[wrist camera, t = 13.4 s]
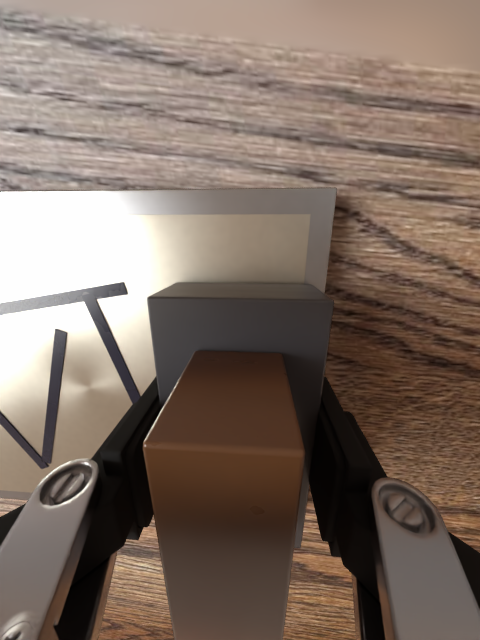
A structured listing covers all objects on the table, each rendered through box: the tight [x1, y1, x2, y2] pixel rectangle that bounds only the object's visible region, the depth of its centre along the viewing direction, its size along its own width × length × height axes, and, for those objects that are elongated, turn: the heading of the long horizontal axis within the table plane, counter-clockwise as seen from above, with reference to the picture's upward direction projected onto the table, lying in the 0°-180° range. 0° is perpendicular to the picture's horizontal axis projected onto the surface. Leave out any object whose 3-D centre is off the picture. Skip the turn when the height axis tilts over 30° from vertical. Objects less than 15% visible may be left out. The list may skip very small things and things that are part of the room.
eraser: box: [143, 282, 334, 640], centre depth 7 cm, size 10×5×6 cm, turn 0°
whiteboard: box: [0, 188, 337, 500], centre depth 11 cm, size 20×16×1 cm
